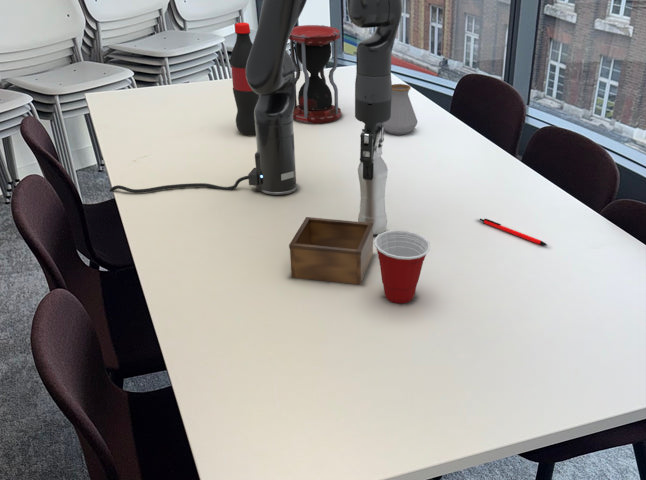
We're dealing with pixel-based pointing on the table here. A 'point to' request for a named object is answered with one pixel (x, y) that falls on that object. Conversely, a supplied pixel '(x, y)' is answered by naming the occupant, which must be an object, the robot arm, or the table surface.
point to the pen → (512, 231)
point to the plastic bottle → (374, 194)
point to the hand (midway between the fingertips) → (371, 172)
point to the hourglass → (315, 73)
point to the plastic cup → (400, 263)
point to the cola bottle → (243, 81)
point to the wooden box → (331, 250)
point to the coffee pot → (400, 111)
